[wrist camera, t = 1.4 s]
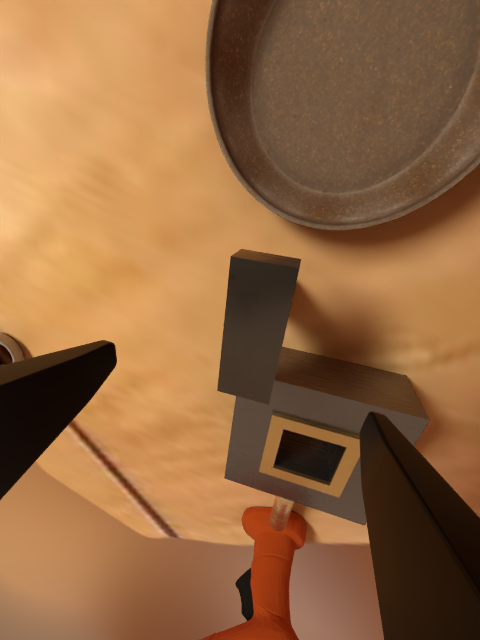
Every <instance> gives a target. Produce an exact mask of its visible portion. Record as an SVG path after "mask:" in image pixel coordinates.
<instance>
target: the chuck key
mask: <svg viewBox="0 0 480 640" xmlns="http://www.w3.org/2000/svg"><path fill="white" fill-rule="evenodd" d="M300 262H301V259H297V258H291V257H286V256H280V255H274V254H268V253H262V252H256V251H250V250H244V249H241V250H239V251H238V252H236V253H235V254H233V255H232V256H231V259H230V269H229V279H228V289H227V300H226V310H225V320H224V330H223V340H222V350H221V360H220V370H219V380H218V390H217V391H220V392H224V393H227V394H231V395H235V396H238V397H242V398H246V399H249V400H253V401H256V402H260V403H264V404H267V405H269V402H270V397H271V393H272V388H273V384H274V379H275V375H276V370H277V366H278V361H279V357H280V352H281V348H282V343H283V339H284V334H285V330H286V325H287V321H288V317H289V312H290V308H291V303H292V299H293V294H294V290H295V285H296V281H297V276H298V272H299V267H300Z"/></svg>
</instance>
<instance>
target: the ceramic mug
mask: <svg viewBox="0 0 480 640" xmlns="http://www.w3.org/2000/svg"><path fill="white" fill-rule="evenodd" d="M0 344H1V345H3V346H4V347H6V349H8V351H9V352H10V354H11V356H12V359H13V363H14V362H18V361H22V360H23V352H22V350H21V348H20V346H19V345H18V344H17V342H16V341H15V340H14V339H12V338H11V337H9V336H8V335H5V334H3V333H0ZM0 366H2V365H1V364H0Z"/></svg>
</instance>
